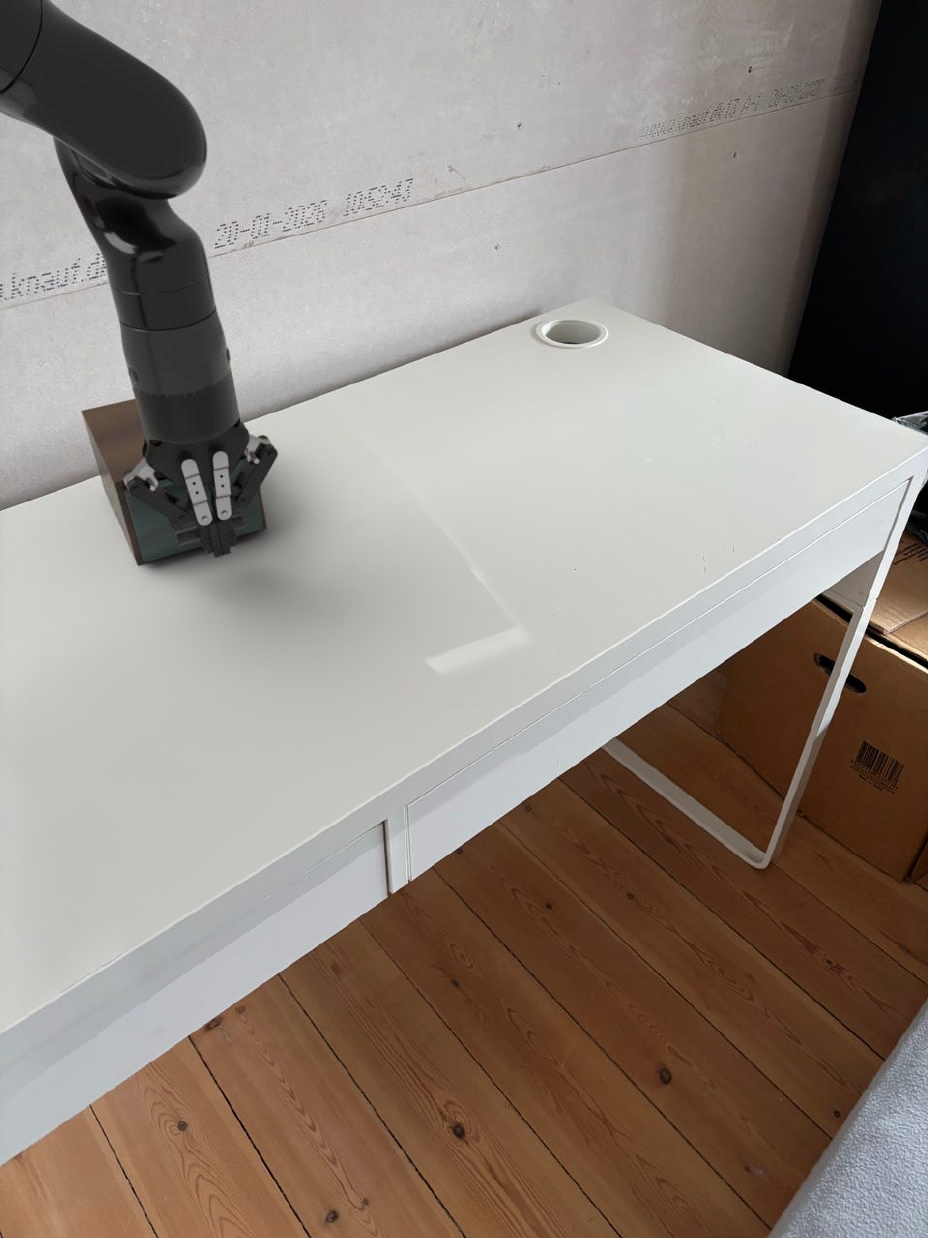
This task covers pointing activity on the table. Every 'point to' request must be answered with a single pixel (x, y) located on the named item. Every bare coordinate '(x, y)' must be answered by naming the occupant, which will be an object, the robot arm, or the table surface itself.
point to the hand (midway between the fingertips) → (220, 550)
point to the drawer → (171, 538)
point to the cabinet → (122, 459)
